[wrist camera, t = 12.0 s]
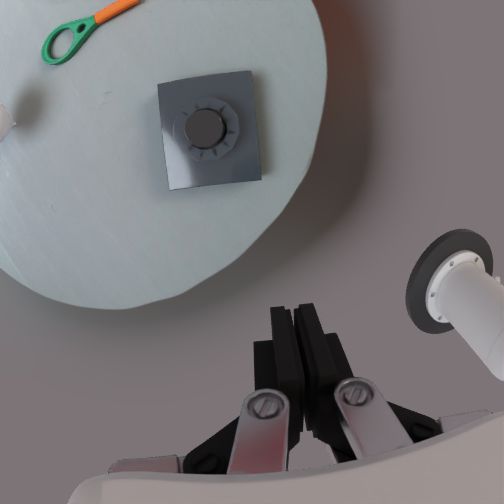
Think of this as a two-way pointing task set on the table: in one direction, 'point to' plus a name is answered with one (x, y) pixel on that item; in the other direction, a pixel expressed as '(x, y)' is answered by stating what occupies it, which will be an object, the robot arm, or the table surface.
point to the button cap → (204, 128)
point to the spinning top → (5, 122)
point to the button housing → (232, 142)
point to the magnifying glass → (91, 23)
